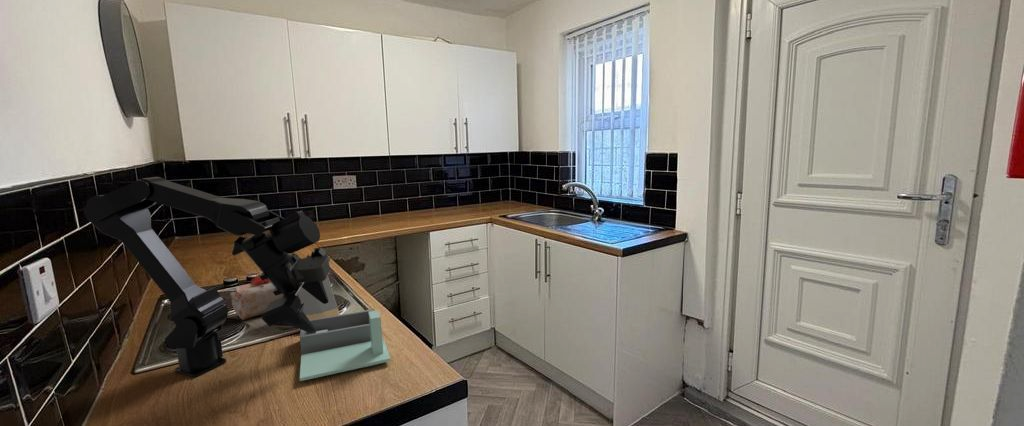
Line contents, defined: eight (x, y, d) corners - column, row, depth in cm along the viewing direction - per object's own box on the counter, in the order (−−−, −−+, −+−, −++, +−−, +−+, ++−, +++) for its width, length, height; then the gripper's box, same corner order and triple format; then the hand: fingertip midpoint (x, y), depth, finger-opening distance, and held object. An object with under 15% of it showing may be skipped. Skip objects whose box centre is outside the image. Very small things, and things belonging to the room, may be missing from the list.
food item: (238, 323, 107) (233, 286, 106) (232, 314, 113) (227, 279, 112) (296, 308, 117) (292, 274, 115) (287, 300, 122) (284, 267, 121)
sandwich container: (307, 337, 100) (300, 276, 97) (293, 316, 112) (287, 261, 109) (344, 326, 105) (339, 268, 102) (327, 307, 117) (322, 255, 114)
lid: (300, 386, 80) (295, 338, 78) (302, 362, 89) (297, 318, 87) (390, 365, 87) (387, 321, 85) (384, 345, 95) (381, 304, 94)
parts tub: (301, 357, 90) (299, 337, 89) (303, 339, 98) (301, 320, 97) (380, 342, 96) (378, 323, 95) (376, 326, 104) (374, 309, 104)
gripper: (291, 272, 74) (341, 333, 81) (324, 223, 91) (363, 277, 98) (237, 295, 75) (290, 353, 82) (279, 242, 92) (321, 294, 99)
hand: (320, 316), depth 90 cm, fingers open, 9 cm apart
